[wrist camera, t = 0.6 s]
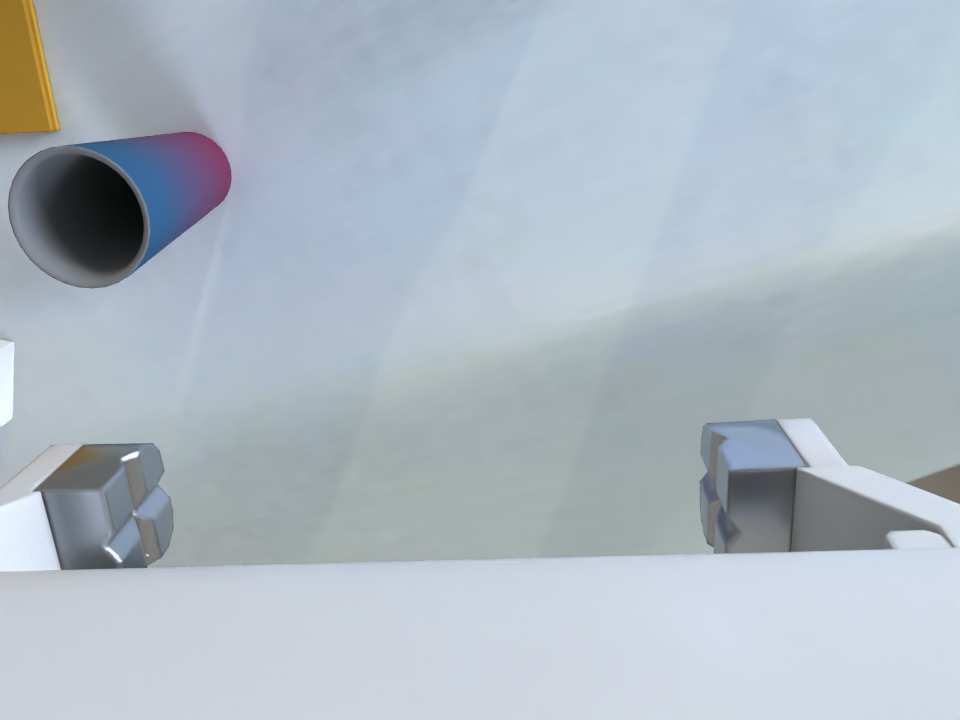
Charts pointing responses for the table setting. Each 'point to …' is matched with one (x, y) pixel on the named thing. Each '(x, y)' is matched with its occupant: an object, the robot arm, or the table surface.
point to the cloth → (23, 72)
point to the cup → (113, 203)
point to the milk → (6, 381)
